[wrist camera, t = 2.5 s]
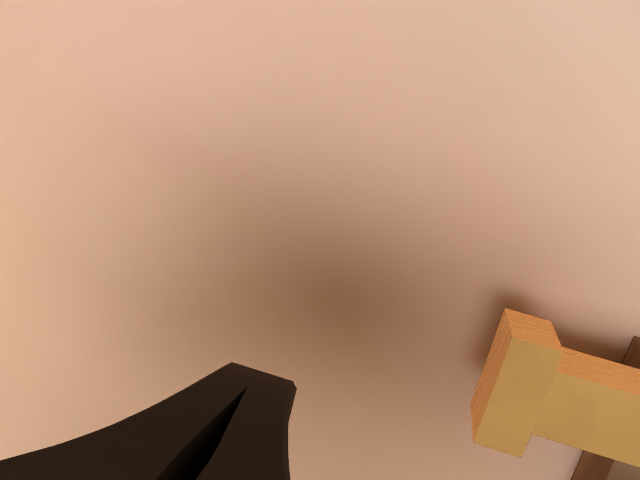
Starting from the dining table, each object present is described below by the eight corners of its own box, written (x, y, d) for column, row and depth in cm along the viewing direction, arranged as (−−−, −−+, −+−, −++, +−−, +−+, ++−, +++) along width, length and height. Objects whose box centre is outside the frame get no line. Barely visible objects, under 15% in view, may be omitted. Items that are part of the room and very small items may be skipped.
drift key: (659, 462, 16) (684, 509, 14) (470, 404, 17) (473, 442, 15) (706, 365, 15) (739, 403, 13) (505, 308, 16) (512, 337, 14)
